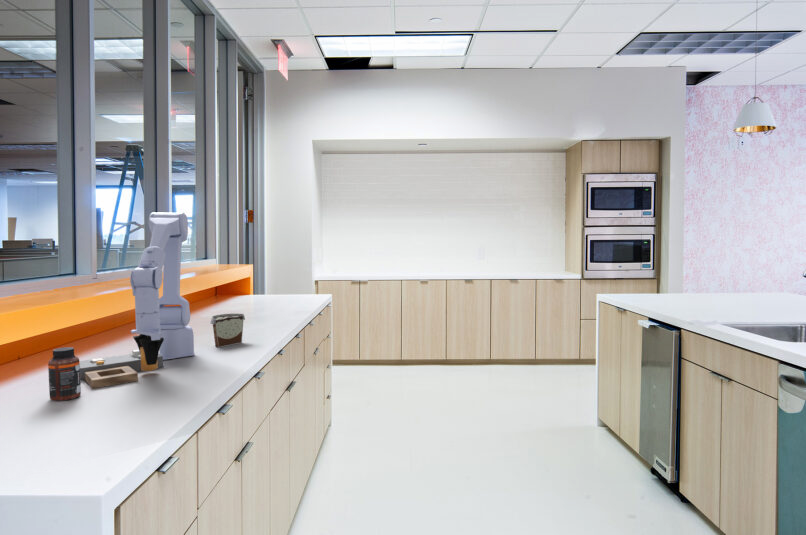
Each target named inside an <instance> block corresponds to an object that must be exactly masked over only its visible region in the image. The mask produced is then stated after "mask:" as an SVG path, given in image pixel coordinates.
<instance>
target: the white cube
mask: <svg viewBox="0 0 806 535" xmlns="http://www.w3.org/2000/svg"><path fill="white" fill-rule="evenodd" d="M102 358H103V357H100V358H92V359H91V360H92V363H96V362H97V361H104V360H103V359H102Z"/></svg>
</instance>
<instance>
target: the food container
mask: <svg viewBox="0 0 806 535" xmlns="http://www.w3.org/2000/svg"><path fill="white" fill-rule="evenodd" d="M245 320H246V318H245V314H244V313H222V314H217V315H215V314H214V315H212V317H211V319H210V324H211V325H212V330H213V338H214V339H213V340H214V346H215V347H216V348H217V349H218V348H222V347H223V348H224V347H227V346H228V347H229V346H233V345H238V343H239V344H242V343H243V334H244V333H243V332H244V331H243V330H244V329H243V328H244V321H245Z"/></svg>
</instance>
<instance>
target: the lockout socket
mask: <svg viewBox="0 0 806 535" xmlns="http://www.w3.org/2000/svg"><path fill="white" fill-rule="evenodd" d="M84 380H85V382H86V383H87V384H88V385H89V386H90V387H91V389H97V388H103V387H104V388H105V387H108V386H109V387H110V386H115V385H121V384H122V385H123V384H126V383H131V382H138V381H139V373H138V371H134V370H133V369H132V368H131V367H129V366H122V367H115V368H108V369H102V370H95V371H89V372H85V379H84Z"/></svg>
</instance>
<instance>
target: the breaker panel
mask: <svg viewBox="0 0 806 535" xmlns="http://www.w3.org/2000/svg"><path fill="white" fill-rule="evenodd" d="M101 358H102V359H103V360H104V361H97V362H96V363H92V359H87V360H86V359H85V360H79V362H80V381H82V380H85V372H89V371H95V370H102V369H108V368H115V367H122V366H129V367H131V368H132V369H133V370H134V371H136V372H140V371H142V370H141V355H139V356H138V357H134V358H133V357H132V353H129V354H121V355H114V356H108V357H101ZM157 360H158V368H157V369H159V368H163V367H164V360H163V356H161V355H160V354H159V353H158V358H157Z"/></svg>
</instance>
